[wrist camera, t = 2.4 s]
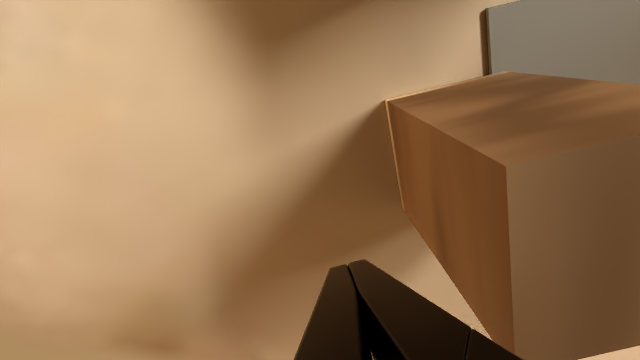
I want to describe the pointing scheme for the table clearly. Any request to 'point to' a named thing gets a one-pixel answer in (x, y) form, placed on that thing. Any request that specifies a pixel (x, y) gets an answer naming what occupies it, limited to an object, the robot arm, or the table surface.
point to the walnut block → (530, 205)
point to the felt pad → (566, 39)
